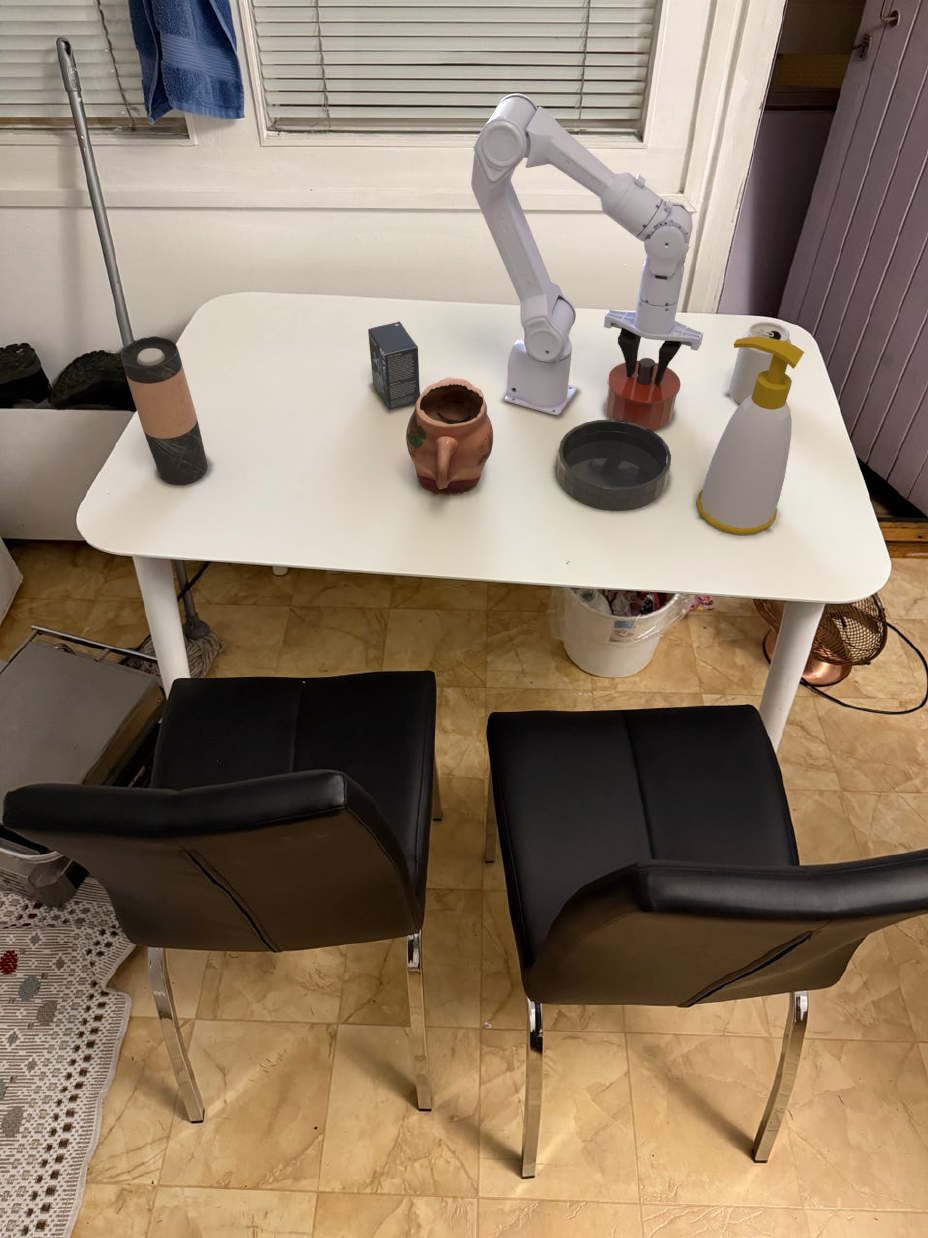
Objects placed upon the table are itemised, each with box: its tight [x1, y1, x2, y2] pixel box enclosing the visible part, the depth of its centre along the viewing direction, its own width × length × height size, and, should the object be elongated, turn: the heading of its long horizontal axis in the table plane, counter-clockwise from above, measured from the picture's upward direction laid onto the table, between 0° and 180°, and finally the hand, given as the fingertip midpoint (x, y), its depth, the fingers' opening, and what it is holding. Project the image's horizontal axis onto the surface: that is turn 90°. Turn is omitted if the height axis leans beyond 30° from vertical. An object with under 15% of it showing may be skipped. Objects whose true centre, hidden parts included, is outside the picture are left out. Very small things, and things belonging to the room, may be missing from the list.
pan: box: [556, 419, 672, 512], centre depth 134 cm, size 16×16×4 cm
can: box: [728, 321, 792, 405], centre depth 144 cm, size 8×8×12 cm
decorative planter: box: [405, 377, 494, 496], centre depth 129 cm, size 20×12×14 cm, turn 0°
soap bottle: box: [696, 336, 805, 535], centre depth 121 cm, size 11×12×26 cm
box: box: [367, 321, 421, 411], centre depth 145 cm, size 8×6×11 cm
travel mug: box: [120, 336, 208, 486], centre depth 129 cm, size 8×8×20 cm
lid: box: [606, 357, 682, 405], centre depth 141 cm, size 11×11×4 cm
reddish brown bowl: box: [605, 387, 677, 432], centre depth 144 cm, size 10×10×5 cm
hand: (644, 377), depth 141 cm, fingers open, 4 cm apart
